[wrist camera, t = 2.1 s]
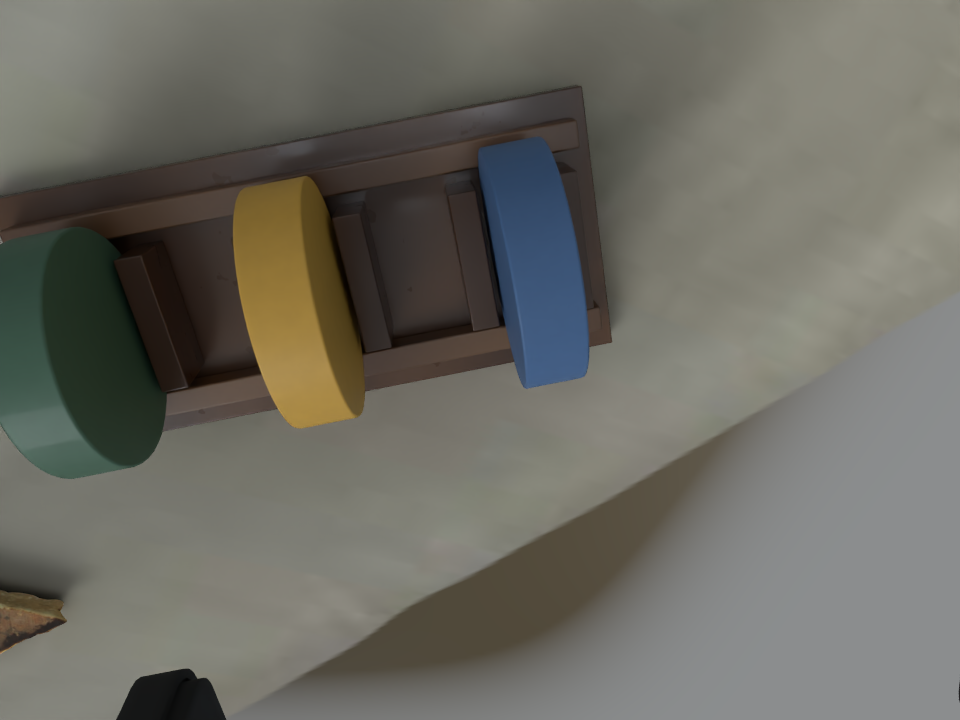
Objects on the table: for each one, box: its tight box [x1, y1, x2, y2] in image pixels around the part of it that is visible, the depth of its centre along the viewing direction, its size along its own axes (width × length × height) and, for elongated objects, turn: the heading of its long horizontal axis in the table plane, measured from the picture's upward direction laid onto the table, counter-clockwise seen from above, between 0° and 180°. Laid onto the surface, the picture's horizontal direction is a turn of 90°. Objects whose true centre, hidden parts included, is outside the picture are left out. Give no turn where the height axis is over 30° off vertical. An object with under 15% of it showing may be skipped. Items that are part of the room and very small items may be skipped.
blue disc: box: [478, 137, 589, 389], centre depth 25 cm, size 2×8×8 cm, turn 10°
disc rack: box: [0, 85, 612, 431], centre depth 28 cm, size 22×10×3 cm, turn 100°
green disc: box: [0, 227, 167, 479], centre depth 25 cm, size 2×8×8 cm, turn 10°
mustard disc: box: [233, 176, 365, 428], centre depth 25 cm, size 2×8×8 cm, turn 10°
